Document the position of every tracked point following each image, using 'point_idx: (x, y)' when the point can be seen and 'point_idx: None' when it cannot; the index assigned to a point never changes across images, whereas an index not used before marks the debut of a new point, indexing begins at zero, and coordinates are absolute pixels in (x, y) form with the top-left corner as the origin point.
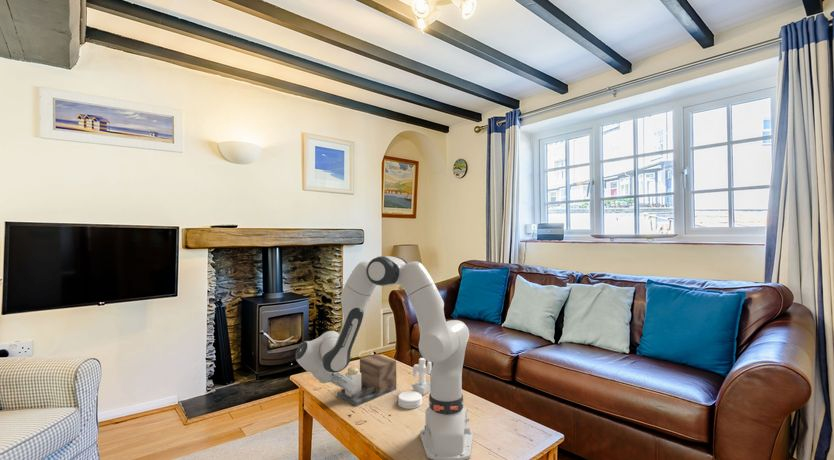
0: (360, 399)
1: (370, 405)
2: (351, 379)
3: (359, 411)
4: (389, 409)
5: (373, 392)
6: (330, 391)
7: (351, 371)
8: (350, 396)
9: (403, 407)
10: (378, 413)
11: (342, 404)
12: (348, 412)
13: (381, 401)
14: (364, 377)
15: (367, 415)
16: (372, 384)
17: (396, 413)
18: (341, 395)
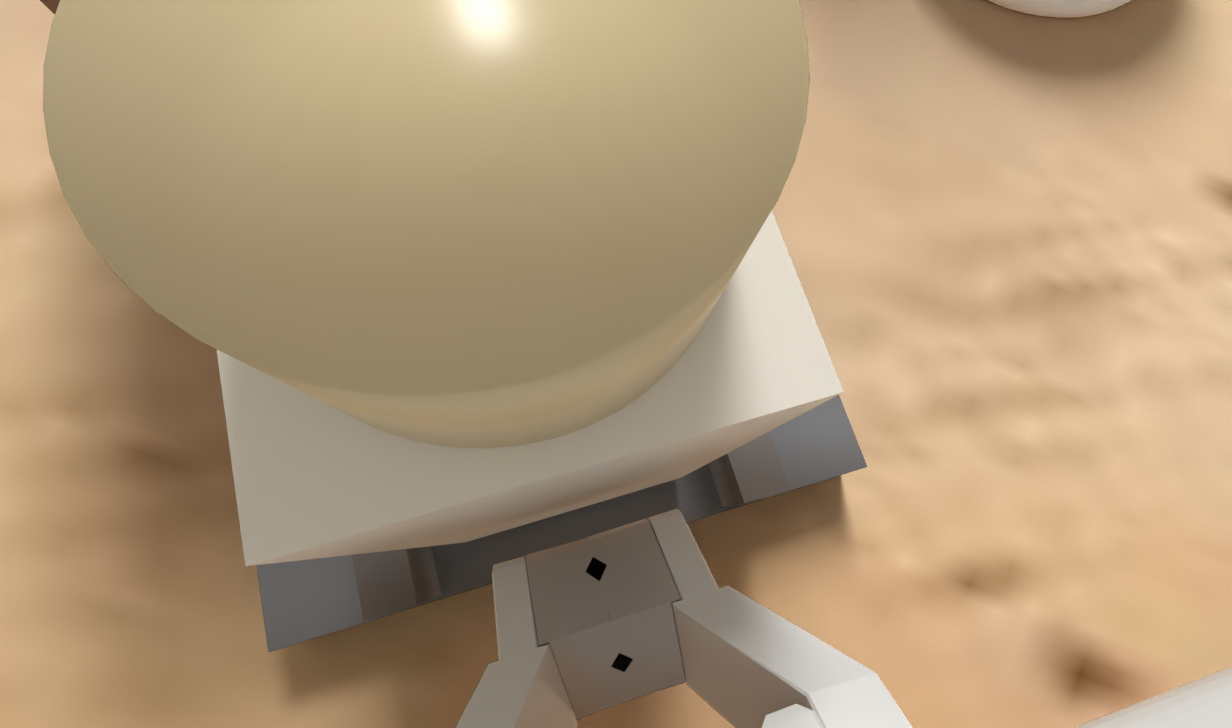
0: None
1: (898, 290)
2: (770, 423)
3: (1018, 493)
4: (1096, 141)
5: None
6: (11, 699)
7: (729, 270)
8: (635, 490)
9: (1125, 1)
10: (1157, 292)
11: None
12: (990, 661)
13: (846, 129)
14: None
15: (1170, 437)
16: None
17: (1218, 120)
18: (423, 602)
